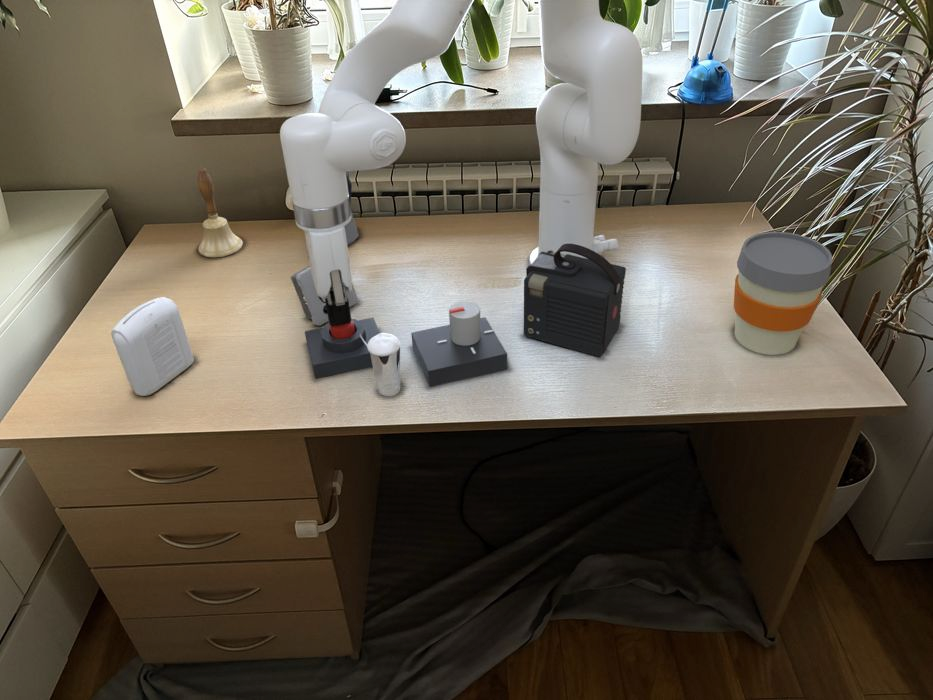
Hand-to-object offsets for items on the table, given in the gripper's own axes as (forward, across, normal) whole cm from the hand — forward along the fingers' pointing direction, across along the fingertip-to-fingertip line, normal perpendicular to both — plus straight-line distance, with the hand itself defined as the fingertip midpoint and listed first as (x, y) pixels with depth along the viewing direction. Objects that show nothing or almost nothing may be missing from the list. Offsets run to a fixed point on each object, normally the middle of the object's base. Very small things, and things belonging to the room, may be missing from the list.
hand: (340, 321), depth 111 cm
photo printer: (+7, -4, -27) cm, 28 cm away
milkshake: (+6, +10, +4) cm, 13 cm away
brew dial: (+3, +6, +18) cm, 19 cm away
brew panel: (+6, +7, +16) cm, 19 cm away
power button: (+2, 0, 0) cm, 2 cm away
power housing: (+6, 0, 0) cm, 6 cm away
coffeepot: (+6, -37, +5) cm, 38 cm away
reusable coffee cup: (+6, +18, +62) cm, 65 cm away
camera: (+6, +6, +35) cm, 36 cm away
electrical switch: (+6, -13, -1) cm, 15 cm away
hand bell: (+6, -42, -17) cm, 46 cm away
